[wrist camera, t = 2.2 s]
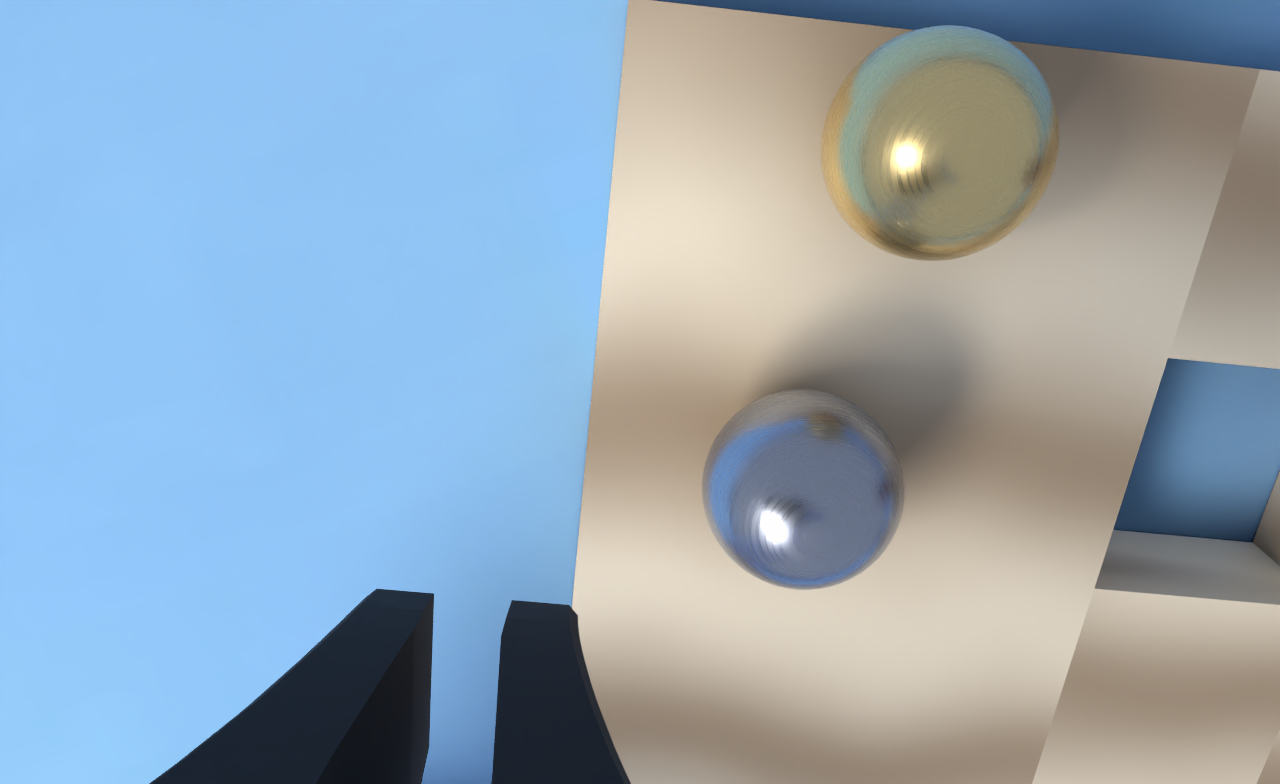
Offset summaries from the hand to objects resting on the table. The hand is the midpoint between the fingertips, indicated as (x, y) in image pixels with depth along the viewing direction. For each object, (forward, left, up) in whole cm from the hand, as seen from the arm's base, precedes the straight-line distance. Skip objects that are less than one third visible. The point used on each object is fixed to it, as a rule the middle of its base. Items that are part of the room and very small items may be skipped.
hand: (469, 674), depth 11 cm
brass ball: (+6, -5, -5) cm, 9 cm away
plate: (0, -9, -9) cm, 13 cm away
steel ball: (0, -4, -5) cm, 7 cm away
